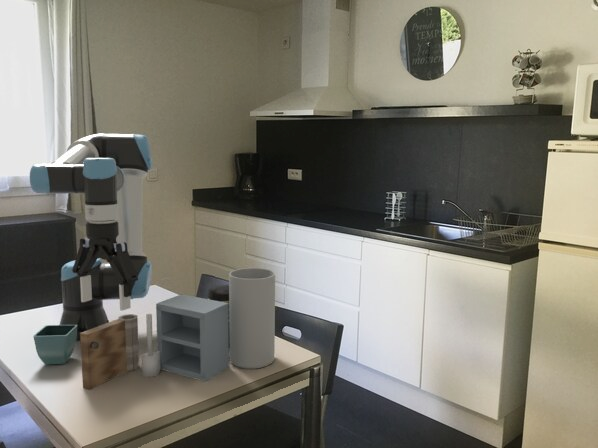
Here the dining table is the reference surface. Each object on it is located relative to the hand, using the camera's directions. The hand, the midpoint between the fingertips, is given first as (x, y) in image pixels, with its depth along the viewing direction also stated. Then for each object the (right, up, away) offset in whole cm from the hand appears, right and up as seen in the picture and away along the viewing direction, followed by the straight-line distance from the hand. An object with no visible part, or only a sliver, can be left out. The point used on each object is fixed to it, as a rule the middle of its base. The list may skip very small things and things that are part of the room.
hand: (105, 305), depth 131 cm
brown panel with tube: (0, -19, +4) cm, 19 cm away
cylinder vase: (+35, -18, +15) cm, 43 cm away
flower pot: (-18, -18, +13) cm, 28 cm away
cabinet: (+18, -19, +8) cm, 27 cm away
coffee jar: (+26, -16, +26) cm, 40 cm away
